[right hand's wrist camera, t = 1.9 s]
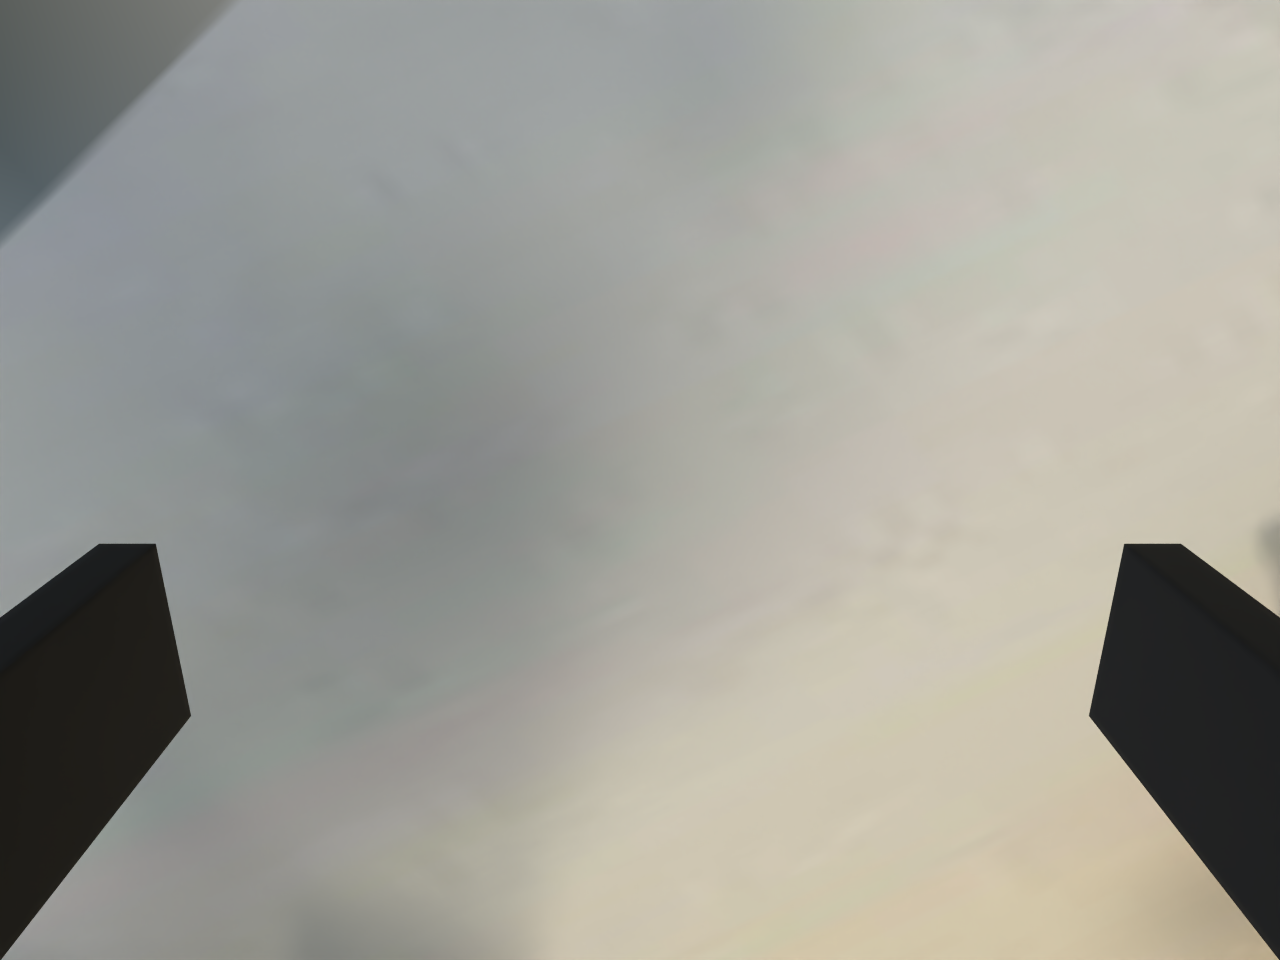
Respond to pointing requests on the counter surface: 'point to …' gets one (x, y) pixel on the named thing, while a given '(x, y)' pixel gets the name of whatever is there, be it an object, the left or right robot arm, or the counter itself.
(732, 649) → the counter surface
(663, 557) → the counter surface
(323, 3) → the counter surface
